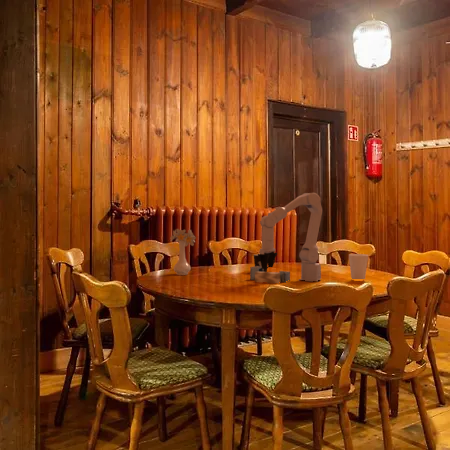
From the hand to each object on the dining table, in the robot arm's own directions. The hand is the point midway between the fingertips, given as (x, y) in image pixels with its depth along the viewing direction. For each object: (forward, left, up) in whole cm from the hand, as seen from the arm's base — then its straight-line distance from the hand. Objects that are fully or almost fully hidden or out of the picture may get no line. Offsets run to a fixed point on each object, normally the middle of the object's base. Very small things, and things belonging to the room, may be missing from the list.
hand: (267, 267), depth 234 cm
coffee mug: (+16, -32, -7) cm, 37 cm away
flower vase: (+51, -3, -7) cm, 52 cm away
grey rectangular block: (+9, -7, -7) cm, 13 cm away
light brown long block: (0, 0, -7) cm, 7 cm away
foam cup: (-38, -28, -7) cm, 47 cm away
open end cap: (-5, -7, -7) cm, 11 cm away
